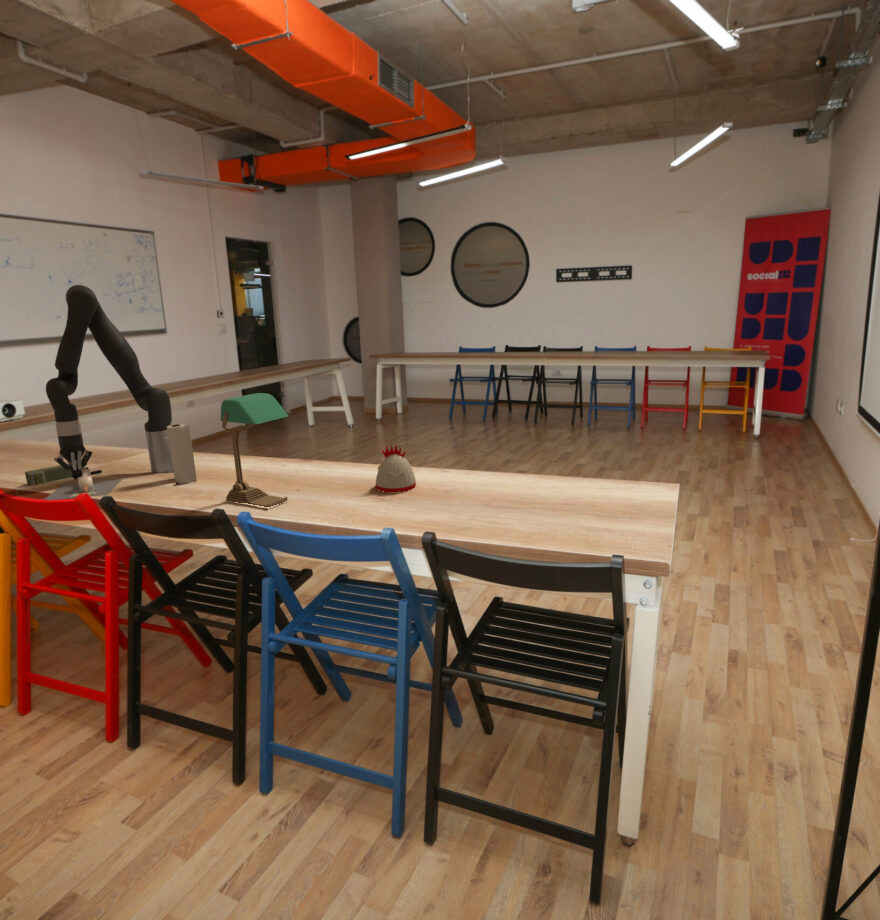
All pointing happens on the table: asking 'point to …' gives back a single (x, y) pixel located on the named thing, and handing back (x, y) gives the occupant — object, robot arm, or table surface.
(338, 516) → the table surface
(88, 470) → the lever with orange pointer
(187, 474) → the paper towel roll
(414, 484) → the beige knit hat
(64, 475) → the handheld radio
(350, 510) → the table surface
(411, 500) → the table surface
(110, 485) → the gauge board
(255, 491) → the banker's lamp
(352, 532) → the table surface
